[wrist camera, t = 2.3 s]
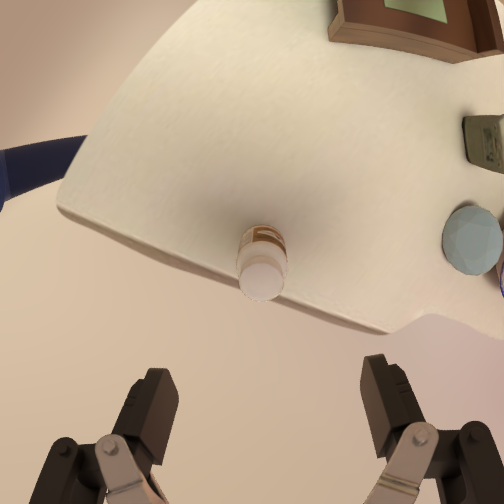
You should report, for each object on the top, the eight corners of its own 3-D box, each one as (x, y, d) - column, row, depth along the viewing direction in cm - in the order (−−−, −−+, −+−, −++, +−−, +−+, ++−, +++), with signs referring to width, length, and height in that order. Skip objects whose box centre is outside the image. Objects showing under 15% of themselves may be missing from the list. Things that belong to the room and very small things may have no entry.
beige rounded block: (443, 130, 24) (490, 136, 17) (468, 102, 22) (516, 103, 15) (469, 171, 25) (515, 188, 18) (492, 143, 24) (539, 154, 16)
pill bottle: (293, 240, 30) (301, 277, 23) (267, 272, 31) (267, 316, 24) (257, 215, 29) (254, 245, 22) (231, 249, 30) (221, 288, 23)
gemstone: (513, 229, 24) (515, 232, 21) (481, 281, 28) (478, 291, 25) (465, 193, 29) (461, 191, 25) (437, 245, 32) (428, 250, 29)
